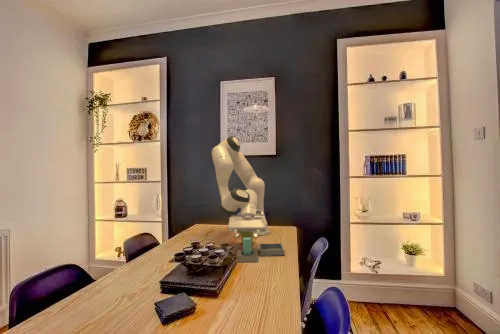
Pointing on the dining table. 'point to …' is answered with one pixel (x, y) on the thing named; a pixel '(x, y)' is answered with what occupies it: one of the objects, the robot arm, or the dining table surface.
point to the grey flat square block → (247, 256)
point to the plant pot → (246, 235)
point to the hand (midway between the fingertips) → (246, 237)
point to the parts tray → (271, 249)
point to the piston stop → (247, 246)
